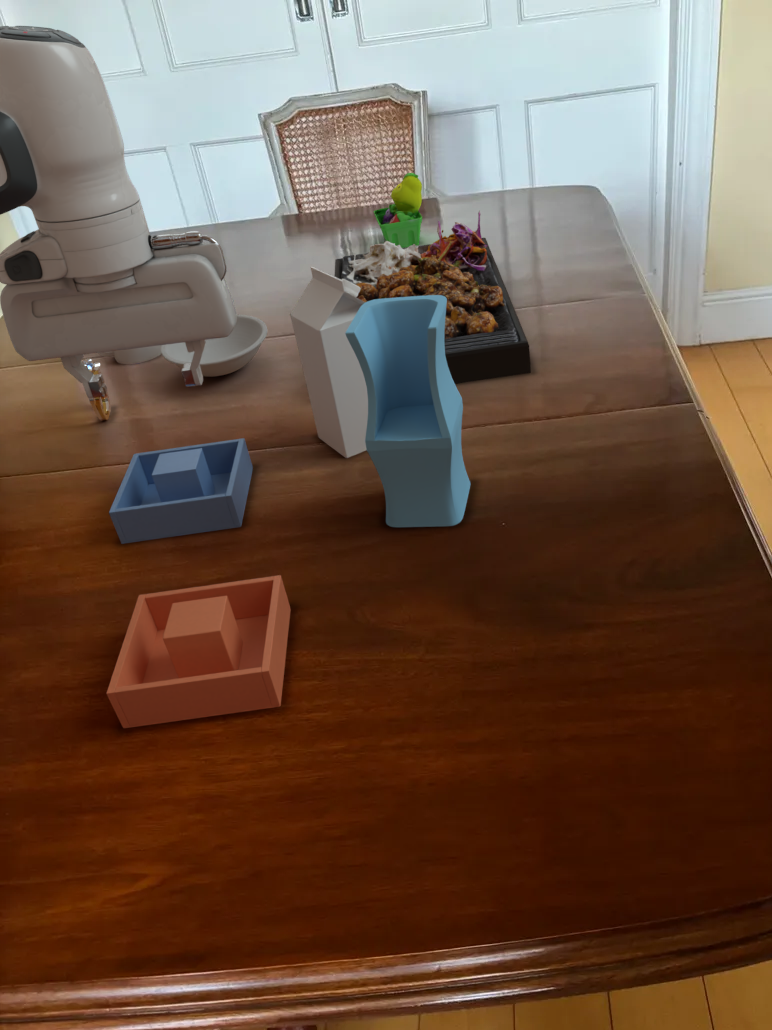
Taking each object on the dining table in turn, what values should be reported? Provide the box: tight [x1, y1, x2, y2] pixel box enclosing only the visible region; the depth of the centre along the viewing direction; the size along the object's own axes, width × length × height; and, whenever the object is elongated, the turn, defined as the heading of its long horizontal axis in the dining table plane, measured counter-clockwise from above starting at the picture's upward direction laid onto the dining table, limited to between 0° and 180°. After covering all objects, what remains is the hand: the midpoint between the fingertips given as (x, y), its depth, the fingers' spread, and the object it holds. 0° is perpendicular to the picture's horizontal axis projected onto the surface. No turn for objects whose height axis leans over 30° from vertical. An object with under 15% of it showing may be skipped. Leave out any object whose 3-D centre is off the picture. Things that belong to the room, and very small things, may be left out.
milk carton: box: [289, 266, 368, 459], centre depth 97 cm, size 7×7×19 cm
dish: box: [161, 313, 268, 378], centre depth 122 cm, size 18×14×5 cm
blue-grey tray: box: [108, 437, 254, 545], centre depth 94 cm, size 12×12×4 cm
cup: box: [96, 345, 162, 365], centre depth 129 cm, size 7×10×9 cm
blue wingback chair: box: [345, 295, 471, 528], centre depth 83 cm, size 8×8×20 cm
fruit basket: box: [373, 172, 423, 248], centre depth 159 cm, size 11×9×11 cm
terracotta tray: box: [106, 574, 292, 729], centre depth 72 cm, size 12×12×4 cm
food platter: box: [333, 210, 532, 385], centre depth 126 cm, size 45×25×10 cm, turn 5°
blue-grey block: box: [152, 448, 215, 502], centre depth 93 cm, size 4×4×5 cm
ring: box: [81, 357, 112, 422], centre depth 113 cm, size 7×3×8 cm, turn 9°
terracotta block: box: [163, 596, 243, 678], centre depth 72 cm, size 4×4×5 cm
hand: (146, 389), depth 87 cm, fingers open, 8 cm apart
